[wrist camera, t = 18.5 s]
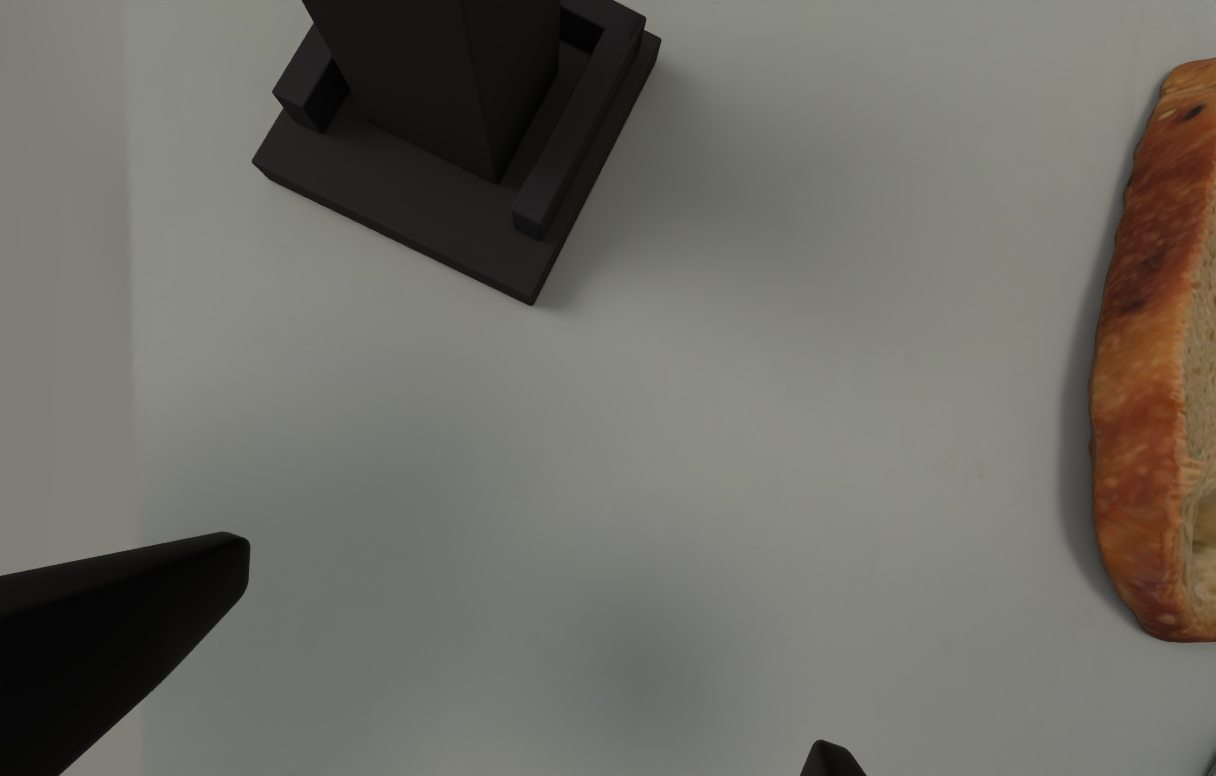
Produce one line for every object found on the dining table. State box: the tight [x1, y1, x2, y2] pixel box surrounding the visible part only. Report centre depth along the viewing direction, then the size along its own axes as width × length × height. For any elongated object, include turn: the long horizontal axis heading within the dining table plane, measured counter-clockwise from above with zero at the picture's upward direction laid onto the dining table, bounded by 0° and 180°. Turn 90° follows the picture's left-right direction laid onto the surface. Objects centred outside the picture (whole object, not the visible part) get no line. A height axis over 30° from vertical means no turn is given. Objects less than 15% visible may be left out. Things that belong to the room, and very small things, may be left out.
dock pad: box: [252, 0, 661, 306], centre depth 19 cm, size 10×10×3 cm
